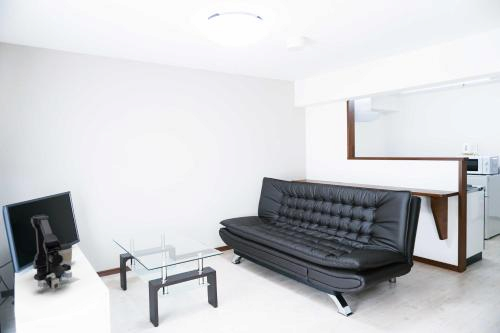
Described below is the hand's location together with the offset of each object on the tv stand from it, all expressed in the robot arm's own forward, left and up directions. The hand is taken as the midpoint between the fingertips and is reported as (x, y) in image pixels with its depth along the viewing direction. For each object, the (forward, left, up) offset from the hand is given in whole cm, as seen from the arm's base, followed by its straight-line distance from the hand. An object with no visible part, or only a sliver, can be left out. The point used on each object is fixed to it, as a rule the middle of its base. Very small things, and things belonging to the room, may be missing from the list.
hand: (54, 286), depth 197 cm
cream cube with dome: (-2, 0, 0) cm, 2 cm away
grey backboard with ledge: (-3, +5, -1) cm, 6 cm away
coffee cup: (-27, +25, -1) cm, 37 cm away
